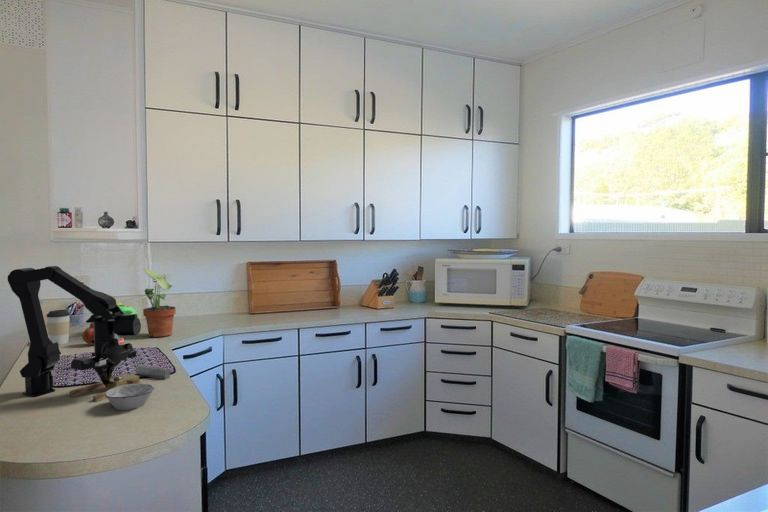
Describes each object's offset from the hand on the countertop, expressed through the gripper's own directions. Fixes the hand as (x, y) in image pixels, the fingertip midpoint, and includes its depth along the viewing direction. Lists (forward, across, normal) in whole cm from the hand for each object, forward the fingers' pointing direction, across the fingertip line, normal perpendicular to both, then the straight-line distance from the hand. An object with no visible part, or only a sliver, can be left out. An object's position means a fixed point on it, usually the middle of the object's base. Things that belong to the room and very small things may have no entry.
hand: (106, 384), depth 159 cm
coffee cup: (+2, +37, +83) cm, 91 cm away
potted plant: (+2, +67, +53) cm, 85 cm away
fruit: (+2, +41, +64) cm, 76 cm away
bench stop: (+2, +18, 0) cm, 18 cm away
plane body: (+2, -1, 0) cm, 2 cm away
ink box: (+2, +23, +28) cm, 37 cm away
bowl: (+2, -6, -18) cm, 19 cm away
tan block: (+2, +5, -1) cm, 6 cm away
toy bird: (+2, +64, +79) cm, 101 cm away
